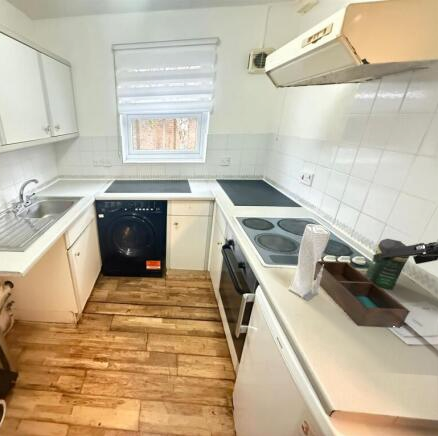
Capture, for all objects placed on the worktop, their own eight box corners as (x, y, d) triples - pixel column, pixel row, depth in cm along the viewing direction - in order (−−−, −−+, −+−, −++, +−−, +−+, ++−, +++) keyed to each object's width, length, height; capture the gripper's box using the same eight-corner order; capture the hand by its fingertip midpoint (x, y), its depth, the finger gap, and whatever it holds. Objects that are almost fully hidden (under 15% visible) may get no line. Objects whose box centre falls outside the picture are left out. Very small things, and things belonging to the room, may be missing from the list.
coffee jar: (394, 295, 86) (416, 251, 79) (365, 288, 90) (384, 245, 83) (388, 281, 94) (408, 240, 86) (362, 275, 98) (379, 235, 91)
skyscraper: (305, 302, 83) (329, 231, 72) (283, 289, 90) (301, 222, 79) (317, 294, 87) (341, 225, 76) (295, 282, 94) (314, 216, 83)
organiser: (341, 275, 97) (347, 261, 95) (400, 328, 73) (410, 311, 70) (310, 274, 98) (314, 260, 96) (357, 325, 74) (365, 309, 71)
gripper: (508, 231, 66) (427, 250, 86) (414, 228, 67) (356, 248, 87) (523, 258, 63) (436, 271, 83) (424, 254, 65) (362, 268, 84)
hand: (395, 259), depth 85 cm, fingers open, 13 cm apart
